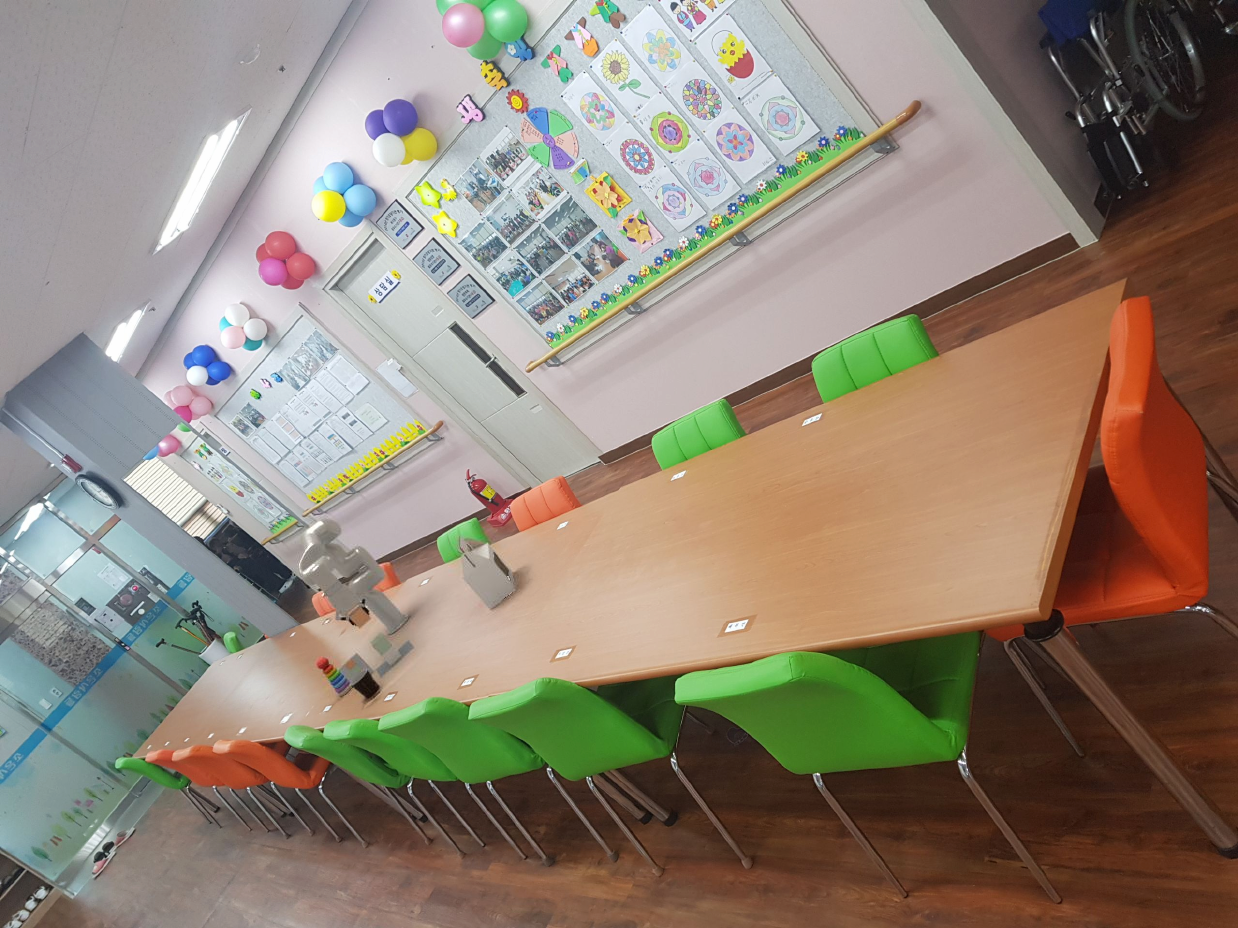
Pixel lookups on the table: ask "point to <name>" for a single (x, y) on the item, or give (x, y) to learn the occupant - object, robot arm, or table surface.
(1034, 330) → the table surface
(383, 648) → the sage green block
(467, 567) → the gable box
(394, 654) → the off-white base block
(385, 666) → the build plate
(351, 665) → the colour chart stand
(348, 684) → the stacking toy
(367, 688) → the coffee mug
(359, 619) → the terracotta block
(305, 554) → the robot arm
